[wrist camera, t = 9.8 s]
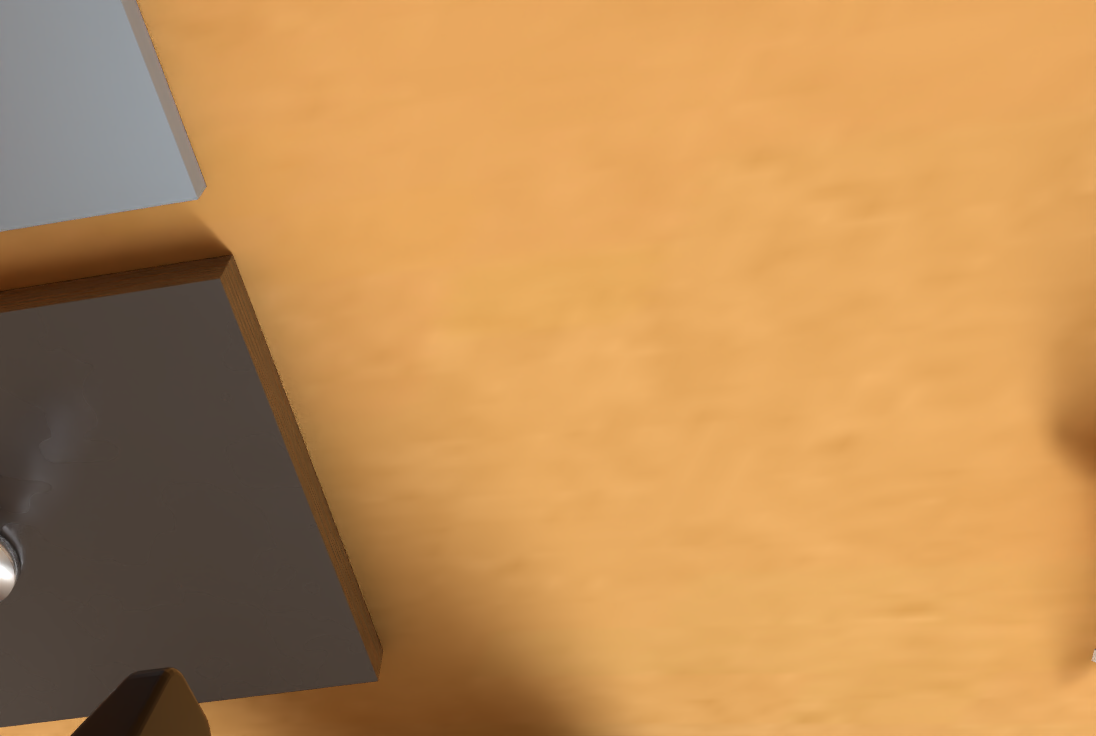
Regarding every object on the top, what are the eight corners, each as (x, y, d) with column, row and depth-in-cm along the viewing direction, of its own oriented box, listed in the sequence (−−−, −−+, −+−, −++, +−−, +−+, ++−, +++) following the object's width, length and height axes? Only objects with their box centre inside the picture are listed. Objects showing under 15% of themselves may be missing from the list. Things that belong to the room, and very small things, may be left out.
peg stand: (382, 650, 27) (346, 890, 22) (-40, 703, 28) (-178, 946, 22) (232, 254, 20) (124, 456, 15) (-315, 341, 21) (-603, 561, 16)
